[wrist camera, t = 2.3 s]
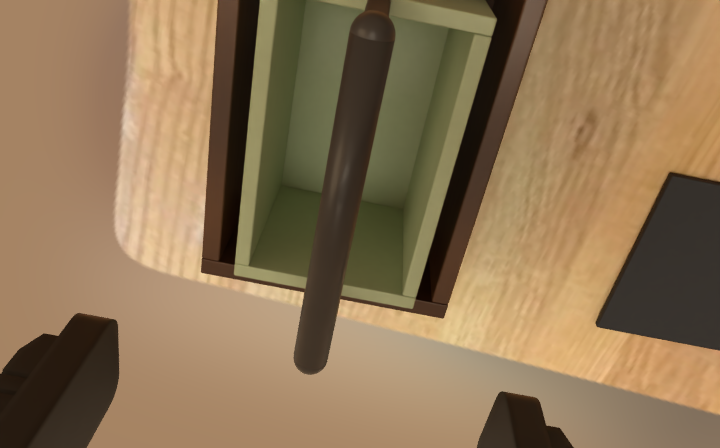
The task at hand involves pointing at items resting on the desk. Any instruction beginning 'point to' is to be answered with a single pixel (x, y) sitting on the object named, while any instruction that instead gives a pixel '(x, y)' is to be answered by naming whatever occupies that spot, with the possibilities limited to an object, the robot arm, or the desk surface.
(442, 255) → the open wooden box
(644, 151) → the desk surface
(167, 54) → the desk surface
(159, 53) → the desk surface
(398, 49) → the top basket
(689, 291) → the mat
